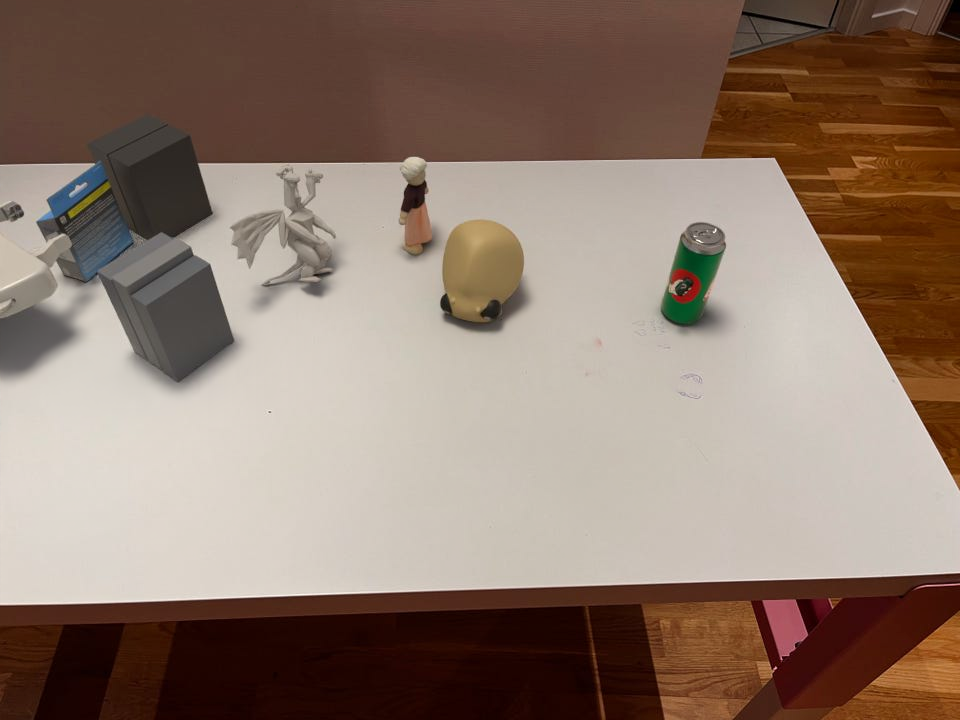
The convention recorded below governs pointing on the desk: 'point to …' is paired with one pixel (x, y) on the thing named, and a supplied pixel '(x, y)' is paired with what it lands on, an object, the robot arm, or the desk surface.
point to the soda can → (693, 272)
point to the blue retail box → (87, 224)
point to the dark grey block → (153, 176)
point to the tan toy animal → (480, 270)
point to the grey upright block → (168, 305)
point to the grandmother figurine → (415, 206)
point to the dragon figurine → (288, 229)
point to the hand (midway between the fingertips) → (42, 222)
